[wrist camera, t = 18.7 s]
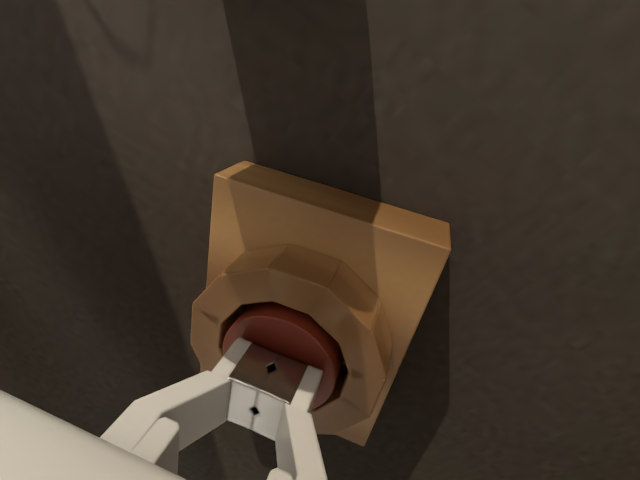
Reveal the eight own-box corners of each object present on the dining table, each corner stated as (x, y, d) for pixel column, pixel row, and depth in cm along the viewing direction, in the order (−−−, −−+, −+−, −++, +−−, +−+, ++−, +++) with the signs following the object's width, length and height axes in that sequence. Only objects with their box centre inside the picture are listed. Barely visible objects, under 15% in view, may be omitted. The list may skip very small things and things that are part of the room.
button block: (372, 406, 17) (355, 489, 14) (223, 346, 19) (174, 409, 15) (450, 222, 13) (454, 279, 9) (244, 159, 14) (179, 189, 11)
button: (333, 390, 14) (320, 428, 13) (240, 352, 15) (217, 385, 13) (359, 310, 12) (348, 345, 11) (252, 271, 13) (226, 299, 11)
